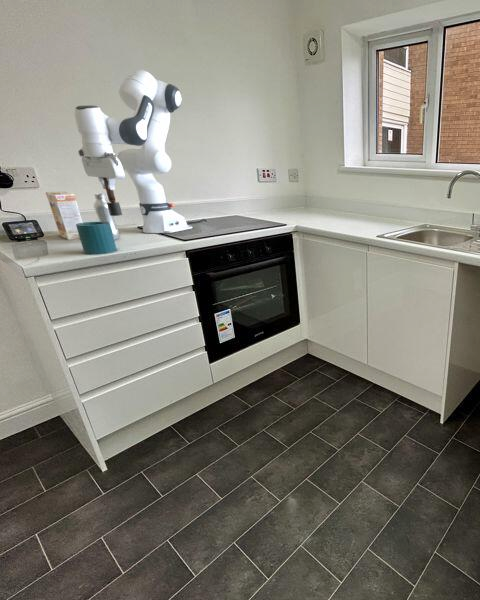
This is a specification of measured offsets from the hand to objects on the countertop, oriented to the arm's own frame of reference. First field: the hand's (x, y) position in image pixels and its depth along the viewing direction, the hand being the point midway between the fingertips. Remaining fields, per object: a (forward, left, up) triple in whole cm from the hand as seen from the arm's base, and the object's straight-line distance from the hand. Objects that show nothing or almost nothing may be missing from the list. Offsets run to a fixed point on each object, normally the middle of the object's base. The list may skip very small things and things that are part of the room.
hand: (109, 189), depth 141 cm
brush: (0, 0, -10) cm, 10 cm away
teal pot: (+10, +3, -23) cm, 25 cm away
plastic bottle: (-4, -16, -23) cm, 28 cm away
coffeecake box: (+1, -37, -23) cm, 44 cm away
